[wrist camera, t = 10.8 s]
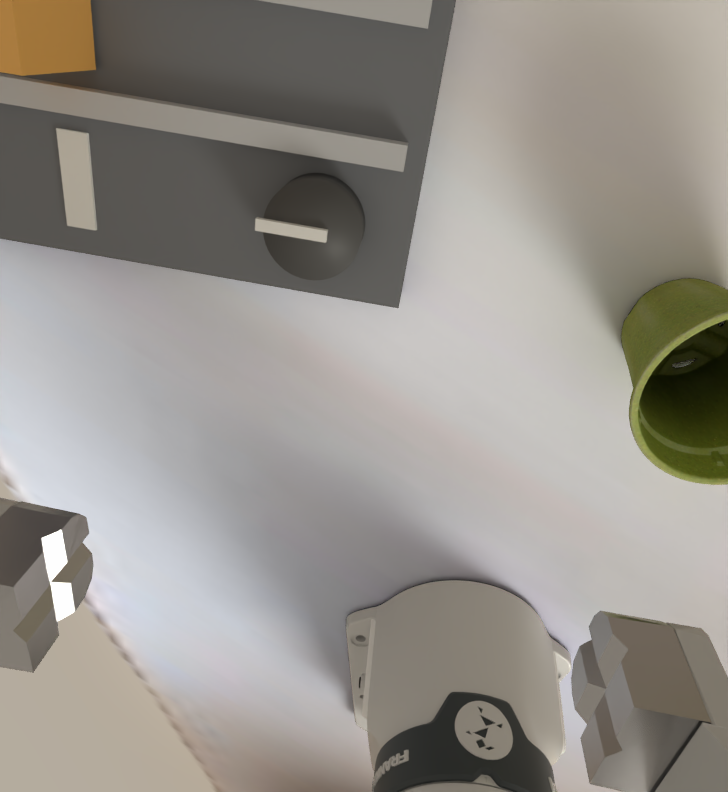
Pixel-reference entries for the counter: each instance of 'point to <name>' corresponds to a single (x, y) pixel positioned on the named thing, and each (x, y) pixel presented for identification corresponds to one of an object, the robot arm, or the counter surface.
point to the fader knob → (46, 36)
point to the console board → (234, 140)
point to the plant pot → (680, 379)
